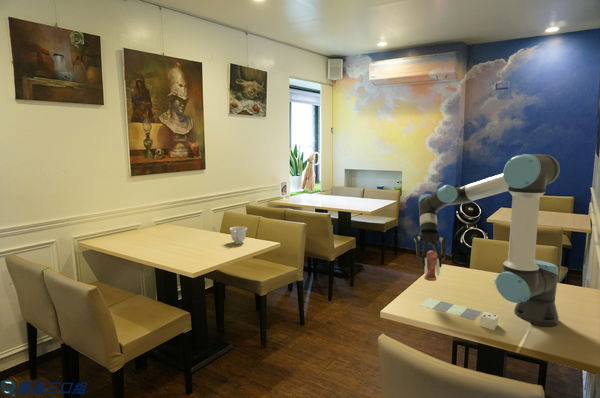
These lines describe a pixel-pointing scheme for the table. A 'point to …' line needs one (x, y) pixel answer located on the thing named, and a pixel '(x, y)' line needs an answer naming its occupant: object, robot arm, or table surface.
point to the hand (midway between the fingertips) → (432, 273)
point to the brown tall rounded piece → (431, 265)
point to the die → (489, 320)
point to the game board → (451, 308)
